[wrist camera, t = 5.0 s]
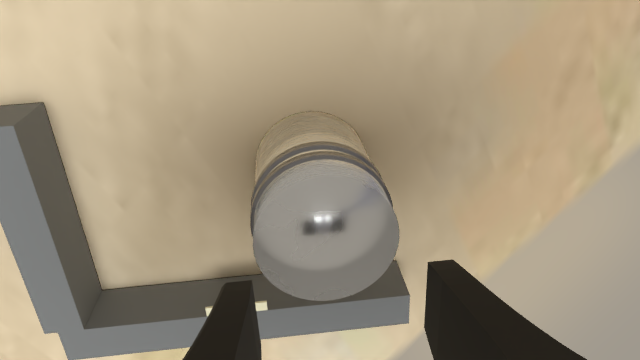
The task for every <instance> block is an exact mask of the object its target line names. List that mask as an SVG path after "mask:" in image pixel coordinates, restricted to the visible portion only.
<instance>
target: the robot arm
mask: <svg viewBox="0 0 640 360" xmlns="http://www.w3.org/2000/svg"><path fill="white" fill-rule="evenodd" d="M424 328H425V331H426V335H427V338H428V342H429V345H430V349H431V352H432V355H433V358H434V360H587V359H585V358H583V357H582V356H580V355H578V354H577V353H575V352H574V351H572V350H570V349H569V348H567V347H566V346H564V345H562V344H561V343H559V342H558V341H557V340H555V339H553V338H552V337H551V336H549V335H548V334H547V333H545V332H544V331H542V330H541V329H539V328H538V327H537V326H535V325H534V324H532V323H531V322H530V321H528V320H527V319H526V318H524V317H523V316H522V315H520V314H519V313H517V312H516V311H515V310H514V309H512V308H511V307H510V306H509V305H507V304H506V303H505V302H503V301H502V300H501V299H500V298H498V297H497V296H496V295H495V294H494V293H492V292H491V291H489V289H487V288H486V287H485V286H484V285H483V284H481V283H480V282H479V281H478V280H477V279H476V278H474V277H473V276H472V275H471V274H470V273H468V272H467V271H466V270H465V269H464V268H463V267H461V266H460V265H459V264H458V263H456V262H455V261H454V260H444V261H434V262H428V272H427V289H426V307H425V324H424ZM183 360H261V341H260V334H259V327H258V319H257V312H256V305H255V298H254V291H253V284H252V280H247V281H237V282H228V283H225V284H224V285H223V286H222V288H221V290H220V293H219V295H218V297H217V299H216V301H215V303H214V306H213V308H212V310H211V312H210V313H209V315H208V317H207V319H206V321H205V323H204V325H203V327H202V328H201V330H200V332H199V333H198V335H197V337H196V339H195V340H194V342H193V344H192V346H191V347H190V349H189V351H188V352H187V354H186V355H185V357H184V358H183Z"/></svg>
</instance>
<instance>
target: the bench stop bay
mask: <svg viewBox="0 0 640 360" xmlns="http://www.w3.org/2000/svg"><path fill="white" fill-rule="evenodd" d="M0 222H1V225H2V227H3V230H4V232H5V235H6V237H7V240H8V242H9V245H10V248H11V250H12V253H13V255H14V258H15V260H16V263H17V265H18V268H19V270H20V273H21V275H22V278H23V280H24V283H25V285H26V288H27V290H28V293H29V295H30V298H31V301H32V303H33V306H34V308H35V311H36V313H37V316H38V318H39V321H40V323H41V326H42V328H43V331H44V333H45V334H47V333H57V332H58V334H59V337H60V339H61V342H62V345H63V347H64V350H65V353H66V355H67V358H68V360H77V359H86V358H95V357H104V356H113V355H122V354H132V353H141V352H150V351H159V350H168V349H177V348H186V347H191V346H192V344H193V342H194V340H195V339H196V337H197V335H198V333H199V332H200V330H201V328H202V327H203V325H204V323H205V321H206V319H207V317H208V315H209V313H210V312H211V310H212V308H213V306H214V303H215V301H216V299H217V297H218V295H219V293H220V290H221V288H222V286H223V285H224V284H225V283H228V282H237V281H247V280H252V284H253V291H254V298H255V305H256V312H257V319H258V327H259V334H260V339H269V338H278V337H287V336H296V335H306V334H315V333H324V332H333V331H342V330H351V329H361V328H370V327H379V326H388V325H397V324H406V323H409V303H410V295H409V292H408V289H407V287H406V284H405V282H404V279H403V277H402V274H401V272H400V269H399V267H398V264H397V262H396V261H392V263H391V264H390V266H389V267H388V269H387V270H386V271H385V272H384V274H383V275H382V276H381V277H380V278H379V279H378V280H377V281H375V282H374V283H373V284H371V285H370V286H369V287H367V288H365V289H364V290H362V291H360V292H358V293H356V294H354V295H351V296H348V297H345V298H341V299H336V300H328V301H314V300H306V299H301V298H298V297H295V296H292V295H289V294H287V293H285V292H283V291H282V290H280V289H278V288H277V287H276V286H274V285H273V284H272V283H271V282H270V281H269V280H268V279H267V278H266V277H265V276H264V274H260V275H250V276H240V277H230V278H220V279H210V280H200V281H190V282H180V283H170V284H160V285H151V286H141V287H131V288H121V289H111V290H102V289H101V286H100V283H99V280H98V276H97V273H96V270H95V267H94V264H93V260H92V257H91V254H90V251H89V247H88V244H87V241H86V238H85V235H84V231H83V228H82V225H81V222H80V219H79V215H78V212H77V209H76V206H75V203H74V199H73V196H72V193H71V190H70V187H69V183H68V180H67V177H66V174H65V170H64V167H63V164H62V161H61V158H60V154H59V151H58V148H57V145H56V142H55V138H54V135H53V132H52V129H51V126H50V122H49V119H48V116H47V113H46V110H45V106H44V103H30V104H17V105H4V106H0Z"/></svg>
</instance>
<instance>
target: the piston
mask: <svg viewBox="0 0 640 360" xmlns="http://www.w3.org/2000/svg"><path fill="white" fill-rule="evenodd" d="M251 232H252V236H253V250H254V256H255V259H256V262H257V264H258V266H259V268H260V270H261V272H262V273H263V274H264V276H265V277H266V278H267V279H268V280H269V281H270V282H271V283H272V284H273V285H274V286H276V287H277V288H278V289H280V290H282V291H283V292H285V293H287V294H289V295H292V296H295V297H298V298H301V299H306V300H314V301H328V300H336V299H341V298H345V297H348V296H351V295H354V294H356V293H358V292H360V291H362V290H364V289H365V288H367V287H369V286H370V285H371V284H373V283H374V282H375V281H377V280H378V279H379V278H380V277H381V276H382V275H383V274H384V272H385V271H386V270H387V269H388V267H389V266H390V264H391V263H392V261H393V259H394V256H395V254H396V251H397V248H398V243H399V226H398V221H397V218H396V215H395V213H394V210H393V205H392V201H391V197H390V194H389V192H388V190H387V188H386V186H385V184H384V182H383V180H382V178H381V176H380V174H379V172H378V170H377V169H376V167H375V166H374V164H373V163H372V162H371V161H370V159H369V157H368V155H367V153H366V151H365V148H364V146H363V144H362V142H361V140H360V138H359V136H358V135H357V133H356V132H355V130H354V129H353V128H352V127H351V126H350V125H349V124H347V123H346V122H345V121H343V120H342V119H340V118H338V117H336V116H334V115H331V114H328V113H323V112H314V111H309V112H301V113H297V114H293V115H291V116H288V117H286V118H284V119H282V120H281V121H279V122H278V123H276V124H275V125H274V126H273V127H272V128H270V130H269V131H268V132H267V133H266V134H265V136H264V137H263V139H262V141H261V143H260V145H259V147H258V151H257V155H256V169H255V186H254V189H253V193H252V199H251Z"/></svg>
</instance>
